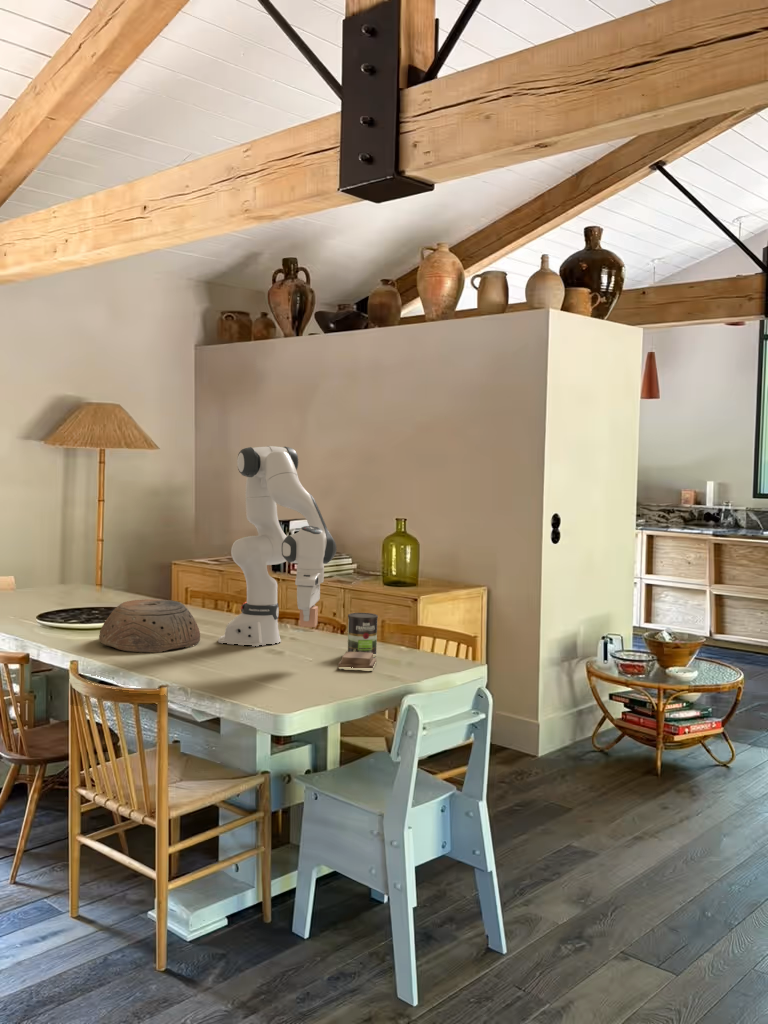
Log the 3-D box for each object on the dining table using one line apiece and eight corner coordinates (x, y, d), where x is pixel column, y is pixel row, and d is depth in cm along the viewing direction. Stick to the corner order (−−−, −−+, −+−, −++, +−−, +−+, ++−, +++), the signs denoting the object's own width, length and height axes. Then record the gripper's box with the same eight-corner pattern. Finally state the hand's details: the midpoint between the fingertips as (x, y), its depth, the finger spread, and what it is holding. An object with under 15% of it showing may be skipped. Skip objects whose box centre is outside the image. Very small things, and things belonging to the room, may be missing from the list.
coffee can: (380, 658, 316) (381, 617, 315) (350, 659, 313) (351, 617, 312) (372, 651, 326) (373, 612, 325) (344, 652, 323) (345, 612, 322)
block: (299, 626, 298) (300, 608, 298) (302, 623, 303) (303, 605, 303) (314, 627, 298) (315, 609, 297) (317, 624, 303) (318, 606, 302)
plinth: (338, 670, 296) (338, 657, 296) (343, 662, 307) (343, 650, 307) (372, 671, 295) (372, 659, 295) (376, 664, 306) (376, 652, 306)
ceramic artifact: (85, 654, 312) (85, 610, 312) (113, 635, 348) (112, 595, 347) (190, 653, 314) (190, 610, 313) (207, 635, 349) (207, 595, 349)
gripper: (306, 571, 310) (305, 612, 311) (294, 580, 290) (292, 624, 291) (325, 572, 309) (323, 613, 310) (313, 581, 289) (312, 625, 290)
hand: (308, 618), depth 300 cm, fingers closed on block, 5 cm apart
